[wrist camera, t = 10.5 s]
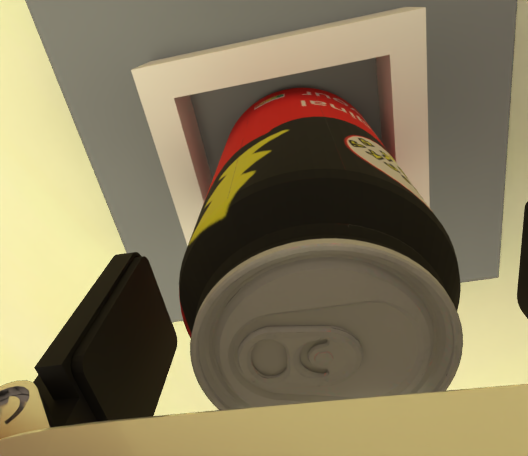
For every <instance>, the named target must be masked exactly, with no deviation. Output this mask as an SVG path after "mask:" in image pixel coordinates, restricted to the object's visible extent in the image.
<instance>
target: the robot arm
mask: <svg viewBox="0 0 528 456" xmlns="http://www.w3.org/2000/svg"><path fill="white" fill-rule="evenodd" d="M517 299H518V304H519V306H520V309H521V310H522V312H523V313H524V314H525V316H526V317H527V318H528V202H527V203H526V205H525V211H524V222H523V233H522V245H521V256H520V268H519V279H518V290H517ZM176 347H177V336H176V332H175V330H174V327H173V324H172V322H171V319H170V316H169V314H168V311H167V308H166V306H165V303H164V300H163V298H162V295H161V292H160V289H159V287H158V284H157V281H156V279H155V276H154V273H153V271H152V268H151V265H150V263H149V260H148V259H147V257H145V256H141V255H140V254H139V253H138V252H133V253H126V254H119V255H115V256H114V257H113V258H112V260H111V261H110V263H109V264H108V265H107V267H106V268H105V270H104V271H103V272H102V274H101V275H100V277H99V278H98V279H97V281H96V282H95V284H94V285H93V286H92V288H91V289H90V291H89V292H88V293H87V295H86V296H85V298H84V299H83V300H82V302H81V303H80V305H79V306H78V307H77V309H76V310H75V312H74V313H73V314H72V316H71V317H70V319H69V320H68V321H67V323H66V324H65V326H64V327H63V328H62V330H61V331H60V333H59V334H58V335H57V337H56V338H55V340H54V341H53V342H52V344H51V345H50V347H49V348H48V349H47V351H46V352H45V353H44V355H43V356H42V358H41V359H40V361H39V362H38V363H37V365H36V366H35V367H34V368H35V369H36V371H37V373H38V374H39V375H38V376H37V378H36V379H35V381H34V382H30V381H27V380H22V381H14V382H11V383H7V384H5V385H2V386H0V456H528V384H521V385H508V386H496V387H484V388H472V389H460V390H449V391H437V392H426V393H414V394H402V395H391V396H379V397H368V398H356V399H345V400H333V401H321V402H310V403H298V404H286V405H274V406H263V407H251V408H239V409H228V410H217V411H206V412H195V413H184V414H173V415H162V416H153V415H154V412H155V409H156V406H157V404H158V401H159V398H160V395H161V392H162V389H163V386H164V383H165V380H166V377H167V374H168V371H169V368H170V365H171V362H172V360H173V357H174V354H175V351H176Z"/></svg>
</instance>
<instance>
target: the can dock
mask: <svg viewBox="0 0 528 456" xmlns="http://www.w3.org/2000/svg"><path fill="white" fill-rule="evenodd" d="M25 1H26V3H27V6H28V8H29V11H30V13H31V16H32V18H33V21H34V23H35V26H36V28H37V31H38V33H39V36H40V38H41V41H42V43H43V46H44V48H45V51H46V53H47V56H48V58H49V61H50V63H51V66H52V68H53V71H54V73H55V76H56V78H57V81H58V83H59V86H60V88H61V91H62V93H63V95H64V98H65V100H66V103H67V105H68V108H69V110H70V113H71V115H72V118H73V120H74V123H75V125H76V128H77V130H78V133H79V135H80V138H81V140H82V143H83V145H84V148H85V150H86V153H87V155H88V158H89V160H90V163H91V165H92V168H93V170H94V173H95V175H96V178H97V180H98V183H99V185H100V188H101V190H102V193H103V195H104V198H105V200H106V203H107V205H108V208H109V210H110V212H111V215H112V217H113V220H114V222H115V225H116V227H117V230H118V232H119V235H120V237H121V240H122V242H123V245H124V247H125V250H126V252H127V253H133V252H138V253H139V254H140V255H141V256H145V257H147V259H148V260H149V263H150V265H151V268H152V271H153V273H154V276H155V279H156V281H157V284H158V287H159V289H160V292H161V295H162V298H163V300H164V303H165V306H166V308H167V311H168V314H169V316H170V319H171V322H177V321H183V317H182V313H181V307H180V298H179V277H180V269H181V265H182V260H183V258H184V255H185V252H186V249H187V246H188V244H189V241H190V238H191V236H192V233H193V230H194V228H195V225H196V222H197V220H198V217H199V214H200V212H201V209H202V206H203V204H204V201H205V198H206V196H207V193H208V191H209V188H210V185H211V183H212V180H213V177H214V175H215V172H216V169H217V167H218V164H219V161H220V159H221V156H222V153H223V151H224V148H225V145H226V143H227V140H228V137H229V135H230V133H231V131H232V129H233V127H234V125H235V124H236V122H237V121H238V119H239V118H240V117H241V116H242V114H243V113H244V112H245V111H246V110H247V109H248V108H250V107H251V106H252V105H253V104H254V103H256V102H257V101H259V100H260V99H262V98H264V97H266V96H268V95H270V94H272V93H275V92H278V91H281V90H286V89H291V88H314V89H319V90H323V91H327V92H330V93H332V94H335V95H337V96H339V97H340V98H342V99H344V100H345V101H347V102H348V103H350V104H351V105H352V106H353V107H354V108H355V109H356V110H357V111H358V112H359V113H360V114H361V115H362V117H363V118H364V119H365V121H366V122H367V123H368V125H369V126H370V127H371V129H372V130H373V131H374V133H375V134H376V136H377V137H378V138H379V140H380V141H381V142H382V144H383V145H384V146H385V148H386V149H387V150H388V152H389V153H390V155H391V156H392V157H393V159H394V160H395V161H396V163H397V164H398V165H399V167H400V168H401V169H402V171H403V172H404V174H405V175H406V176H407V178H408V179H409V180H410V182H411V183H412V184H413V186H414V187H415V189H416V190H417V191H418V193H419V194H420V195H421V197H422V198H423V199H424V201H425V202H426V203H427V205H428V206H429V208H430V209H431V210H432V212H433V213H434V214H435V216H436V217H437V218H438V220H439V221H440V222H441V224H442V225H443V227H444V228H445V230H446V232H447V234H448V235H449V237H450V240H451V242H452V245H453V247H454V250H455V254H456V257H457V262H458V268H459V274H460V283H462V282H469V281H477V280H484V279H491V278H498V277H499V263H500V248H501V233H502V219H503V204H504V189H505V174H506V159H507V144H508V130H509V115H510V100H511V85H512V70H513V55H514V41H515V26H516V11H517V0H25Z"/></svg>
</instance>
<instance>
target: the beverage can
mask: <svg viewBox="0 0 528 456" xmlns="http://www.w3.org/2000/svg"><path fill="white" fill-rule="evenodd" d="M179 298H180V307H181V313H182V317H183V321H184V324H185V327H186V329H187V332H188V334H189V336H190V338H191V342H190V355H191V362H192V366H193V370H194V373H195V376H196V378H197V381H198V383H199V385H200V386H201V388H202V390H203V392H204V393H205V394H206V396H207V397H208V399H209V400H210V401H211V402H212V403H213V404H214V405H215V406H216V407H217V408H218V409H219V410H228V409H239V408H251V407H263V406H274V405H286V404H298V403H310V402H321V401H333V400H345V399H356V398H368V397H379V396H391V395H402V394H414V393H426V392H437V391H446V389H447V388H448V386H449V385H450V383H451V382H452V380H453V378H454V376H455V374H456V371H457V369H458V366H459V363H460V359H461V355H462V347H463V334H462V327H461V322H460V319H459V316H458V313H457V309H458V305H459V299H460V274H459V268H458V262H457V257H456V254H455V250H454V247H453V245H452V242H451V240H450V237H449V235H448V234H447V232H446V230H445V228H444V227H443V225H442V224H441V222H440V221H439V220H438V218H437V217H436V216H435V214H434V213H433V212H432V210H431V209H430V208H429V206H428V205H427V203H426V202H425V201H424V199H423V198H422V197H421V195H420V194H419V193H418V191H417V190H416V189H415V187H414V186H413V184H412V183H411V182H410V180H409V179H408V178H407V176H406V175H405V174H404V172H403V171H402V169H401V168H400V167H399V165H398V164H397V163H396V161H395V160H394V159H393V157H392V156H391V155H390V153H389V152H388V150H387V149H386V148H385V146H384V145H383V144H382V142H381V141H380V140H379V138H378V137H377V136H376V134H375V133H374V131H373V130H372V129H371V127H370V126H369V125H368V123H367V122H366V121H365V119H364V118H363V117H362V115H361V114H360V113H359V112H358V111H357V110H356V109H355V108H354V107H353V106H352V105H351V104H350V103H348V102H347V101H345V100H344V99H342V98H340V97H339V96H337V95H335V94H332V93H330V92H327V91H323V90H319V89H314V88H291V89H286V90H281V91H278V92H275V93H272V94H270V95H268V96H266V97H264V98H262V99H260V100H259V101H257V102H256V103H254V104H253V105H252V106H251V107H250V108H248V109H247V110H246V111H245V112H244V113H243V114H242V116H241V117H240V118H239V119H238V121H237V122H236V124H235V125H234V127H233V129H232V131H231V133H230V135H229V137H228V140H227V143H226V145H225V148H224V151H223V153H222V156H221V159H220V161H219V164H218V167H217V169H216V172H215V175H214V177H213V180H212V183H211V185H210V188H209V191H208V193H207V196H206V198H205V201H204V204H203V206H202V209H201V212H200V214H199V217H198V220H197V222H196V225H195V228H194V230H193V233H192V236H191V238H190V241H189V244H188V246H187V249H186V252H185V255H184V258H183V260H182V265H181V269H180V277H179Z"/></svg>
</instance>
